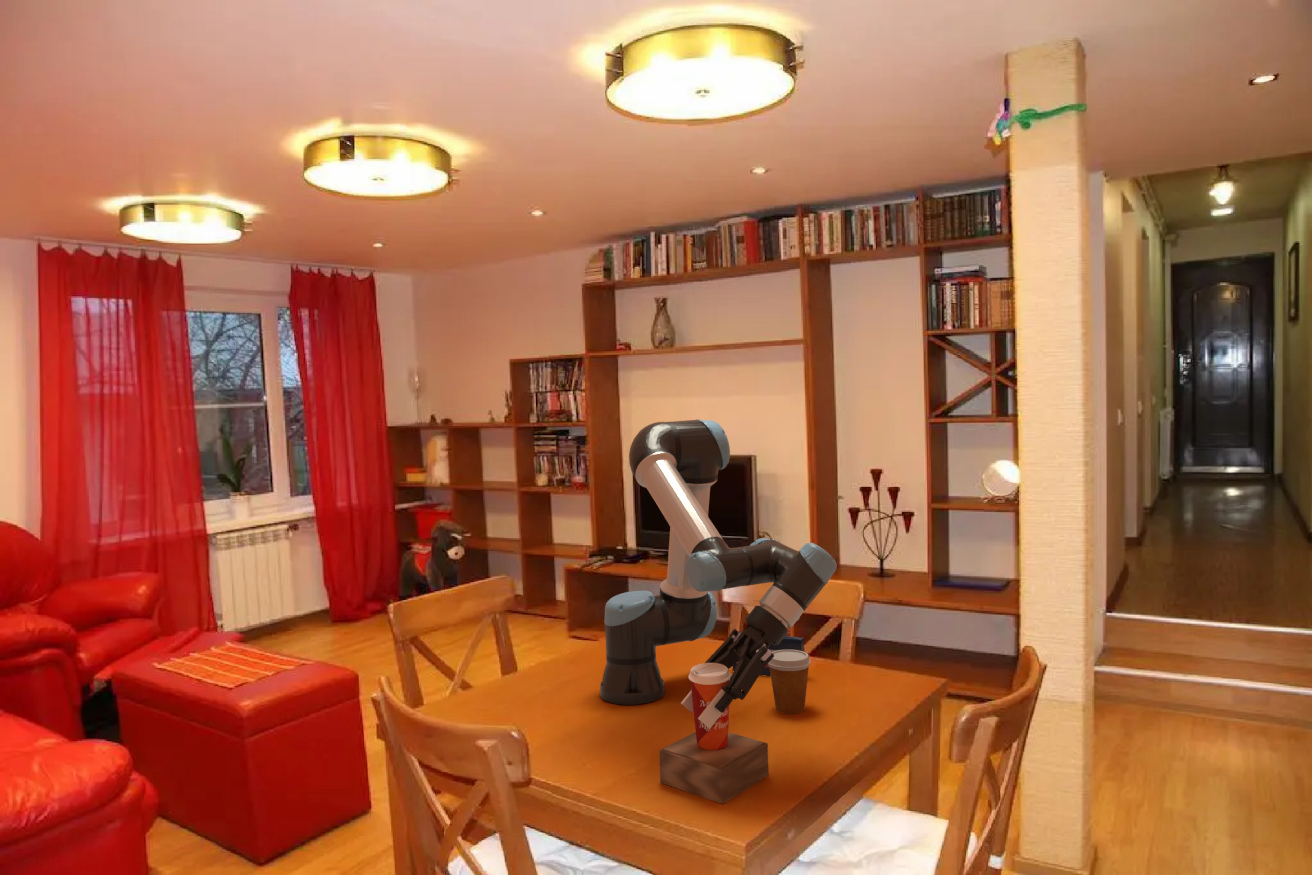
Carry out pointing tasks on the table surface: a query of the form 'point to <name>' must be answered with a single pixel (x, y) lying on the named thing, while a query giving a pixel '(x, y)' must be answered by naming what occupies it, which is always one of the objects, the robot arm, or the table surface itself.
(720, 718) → the paper cup
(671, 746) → the walnut box
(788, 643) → the vhs cassette tape
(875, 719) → the table surface
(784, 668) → the disposable coffee cup
